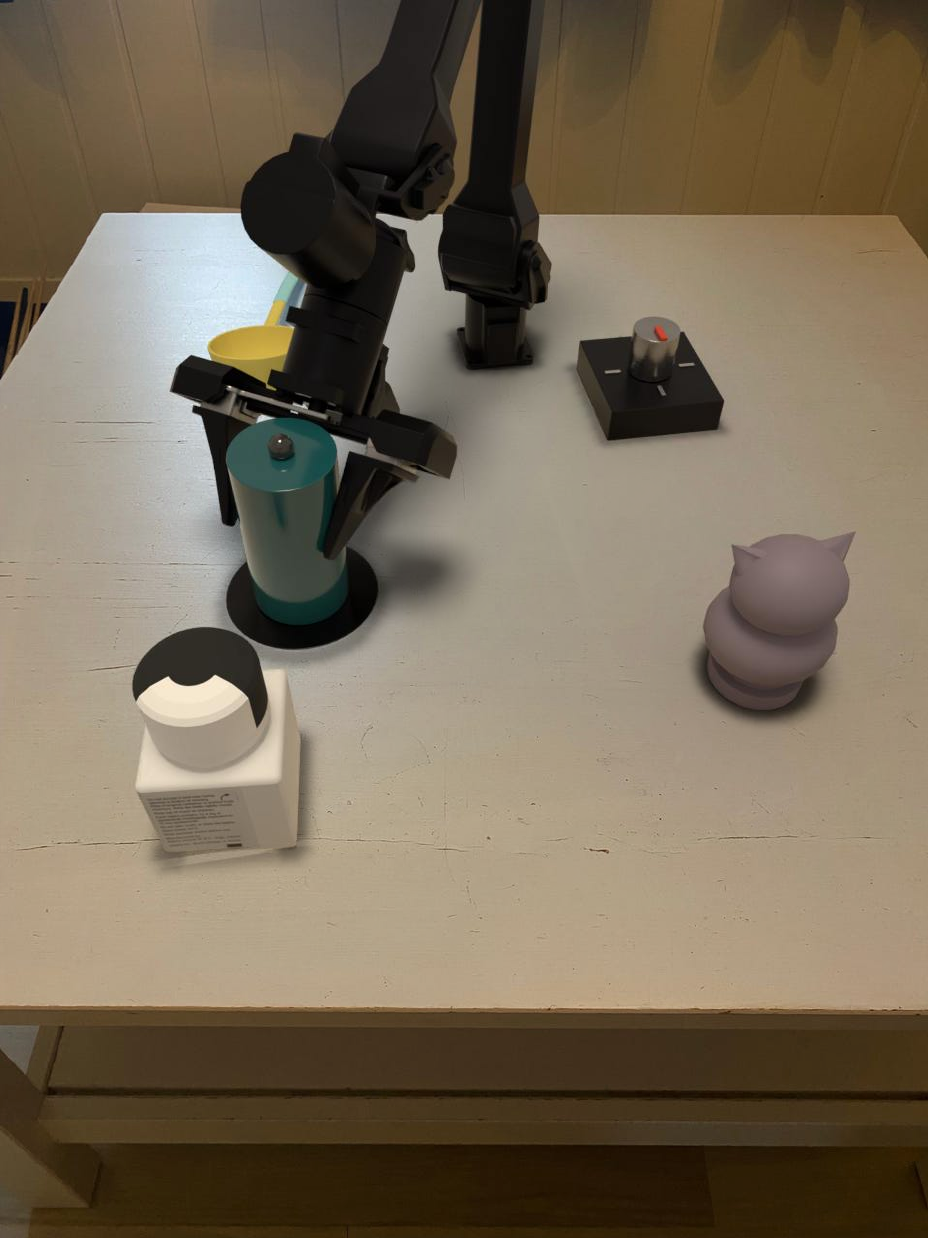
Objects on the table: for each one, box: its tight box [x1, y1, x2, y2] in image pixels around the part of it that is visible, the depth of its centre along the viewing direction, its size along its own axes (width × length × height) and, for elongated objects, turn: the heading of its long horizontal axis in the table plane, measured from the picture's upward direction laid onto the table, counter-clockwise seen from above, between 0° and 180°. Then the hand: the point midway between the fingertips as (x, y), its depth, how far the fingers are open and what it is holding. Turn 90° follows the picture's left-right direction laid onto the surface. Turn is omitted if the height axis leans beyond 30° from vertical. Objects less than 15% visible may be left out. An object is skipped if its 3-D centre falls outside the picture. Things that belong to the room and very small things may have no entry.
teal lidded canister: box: [226, 418, 349, 625], centre depth 63 cm, size 7×7×14 cm
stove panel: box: [576, 331, 725, 441], centre depth 85 cm, size 11×10×3 cm
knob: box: [627, 316, 681, 382], centre depth 82 cm, size 4×4×4 cm
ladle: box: [206, 271, 300, 391], centre depth 92 cm, size 9×26×6 cm, turn 177°
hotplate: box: [225, 546, 379, 651], centre depth 69 cm, size 11×11×1 cm
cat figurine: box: [702, 530, 857, 711], centre depth 60 cm, size 8×8×12 cm
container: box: [131, 626, 301, 854], centre depth 53 cm, size 8×8×13 cm
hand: (278, 542), depth 63 cm, fingers closed on teal lidded canister, 7 cm apart
